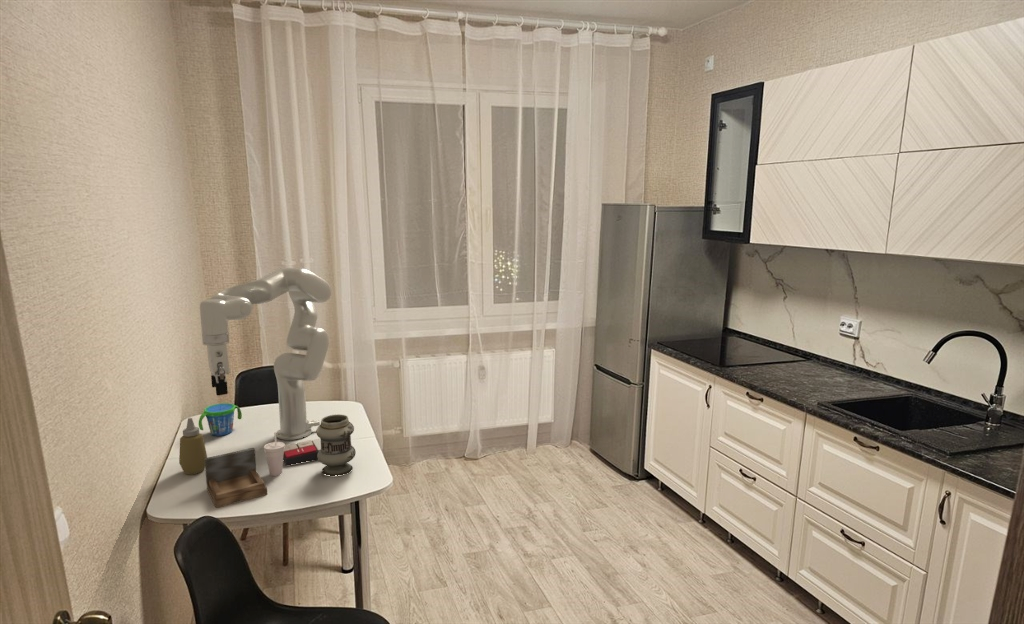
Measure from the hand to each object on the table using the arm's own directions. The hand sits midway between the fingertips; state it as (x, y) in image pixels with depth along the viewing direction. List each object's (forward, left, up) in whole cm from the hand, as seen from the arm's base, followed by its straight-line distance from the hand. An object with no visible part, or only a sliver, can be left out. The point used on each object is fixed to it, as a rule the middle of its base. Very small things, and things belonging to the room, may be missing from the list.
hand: (219, 390), depth 187 cm
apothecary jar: (-29, +22, -27) cm, 46 cm away
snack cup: (-5, -35, -27) cm, 45 cm away
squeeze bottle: (+9, -4, -27) cm, 29 cm away
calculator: (-25, +5, -28) cm, 37 cm away
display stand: (+1, +19, -27) cm, 33 cm away
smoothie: (-12, +13, -27) cm, 32 cm away
